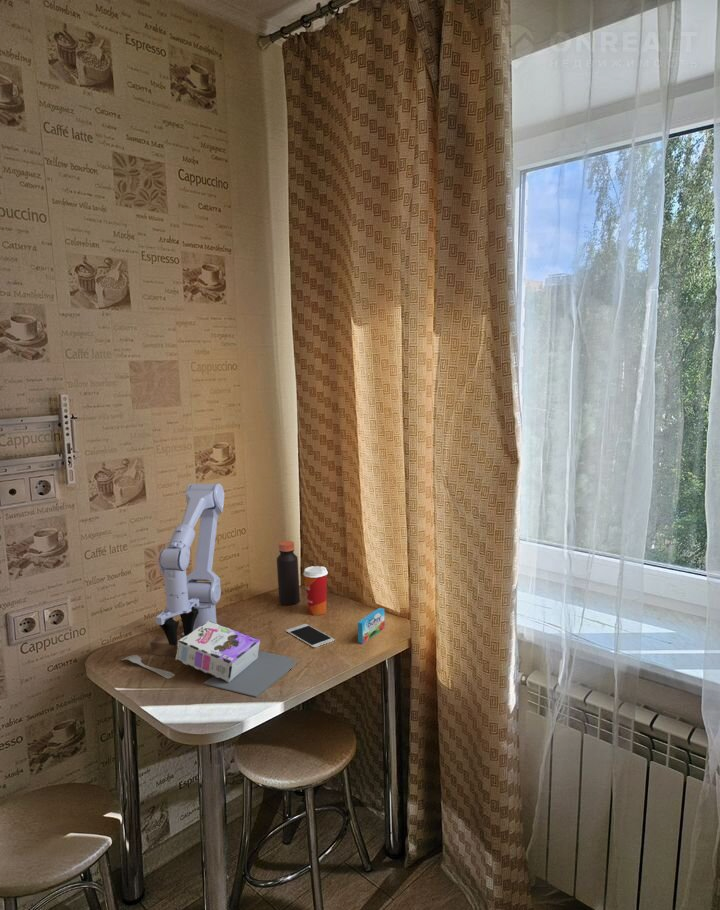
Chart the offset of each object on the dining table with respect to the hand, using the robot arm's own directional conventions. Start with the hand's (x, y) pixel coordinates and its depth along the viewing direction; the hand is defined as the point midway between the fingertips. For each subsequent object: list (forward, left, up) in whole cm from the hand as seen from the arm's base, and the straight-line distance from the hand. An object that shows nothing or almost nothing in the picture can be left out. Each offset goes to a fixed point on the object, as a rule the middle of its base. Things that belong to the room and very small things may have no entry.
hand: (180, 640), depth 173 cm
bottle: (+6, +44, -5) cm, 45 cm away
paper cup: (+19, +40, -5) cm, 45 cm away
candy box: (+22, -1, -2) cm, 22 cm away
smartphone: (+26, +24, -5) cm, 36 cm away
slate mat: (+24, 0, -4) cm, 24 cm away
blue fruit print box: (+42, +31, -5) cm, 53 cm away
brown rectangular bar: (-1, +1, -4) cm, 5 cm away
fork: (-4, -9, -5) cm, 11 cm away
